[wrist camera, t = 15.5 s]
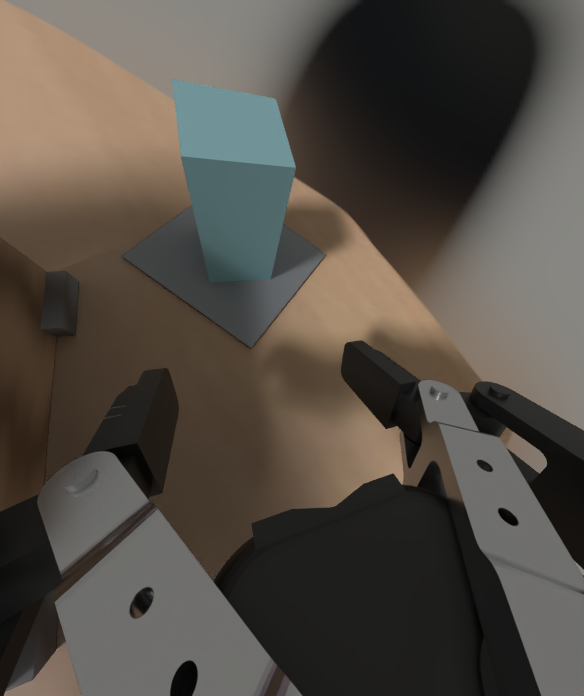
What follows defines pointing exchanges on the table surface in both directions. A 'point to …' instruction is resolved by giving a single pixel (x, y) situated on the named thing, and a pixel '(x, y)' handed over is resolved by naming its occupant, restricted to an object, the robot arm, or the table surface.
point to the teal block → (234, 177)
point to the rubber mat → (224, 297)
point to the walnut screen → (30, 405)
